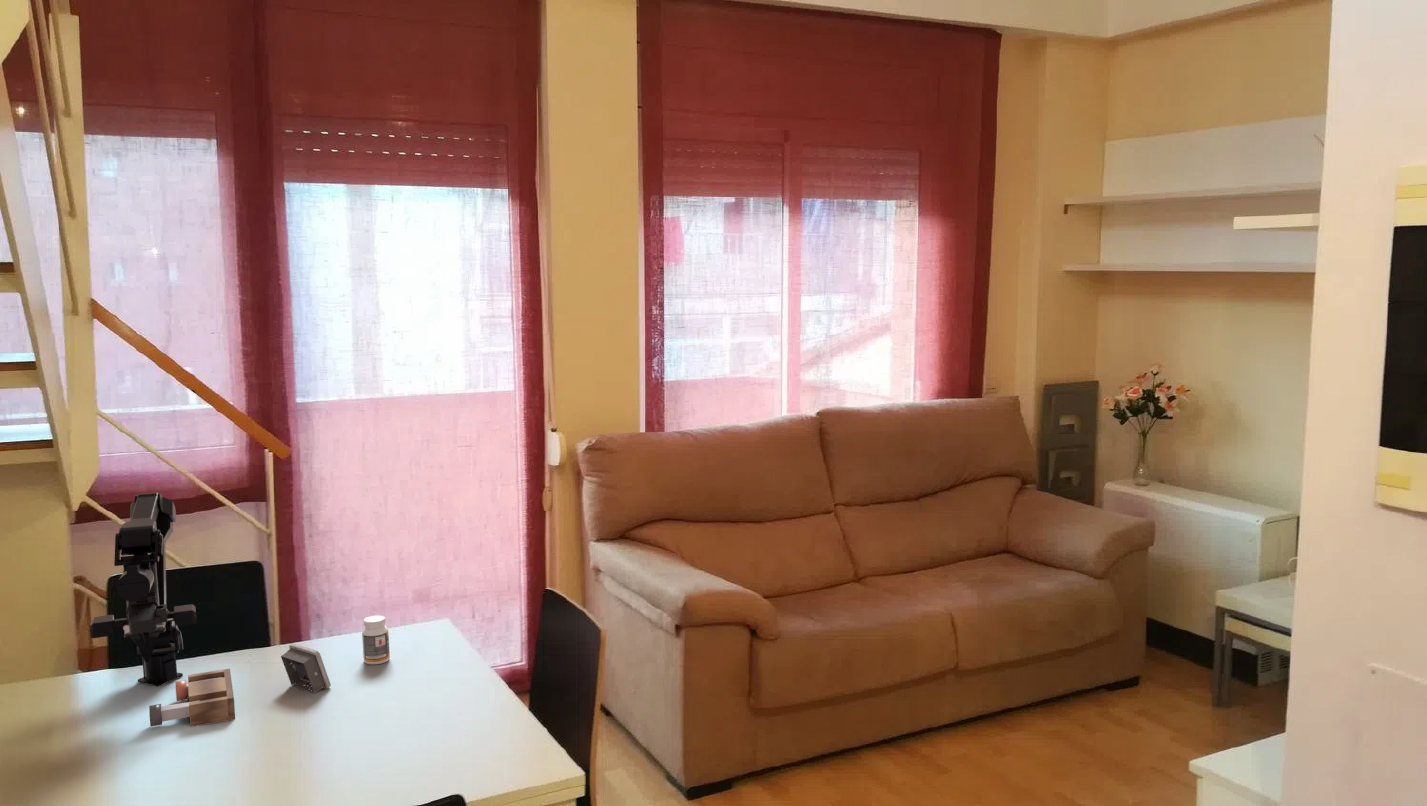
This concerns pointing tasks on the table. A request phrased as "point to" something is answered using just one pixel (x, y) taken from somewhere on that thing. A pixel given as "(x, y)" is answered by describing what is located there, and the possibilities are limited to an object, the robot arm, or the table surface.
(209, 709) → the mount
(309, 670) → the electrical switch
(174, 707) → the white and gray knob
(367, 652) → the pill bottle
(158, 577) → the robot arm
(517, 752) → the table surface
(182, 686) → the red knob
